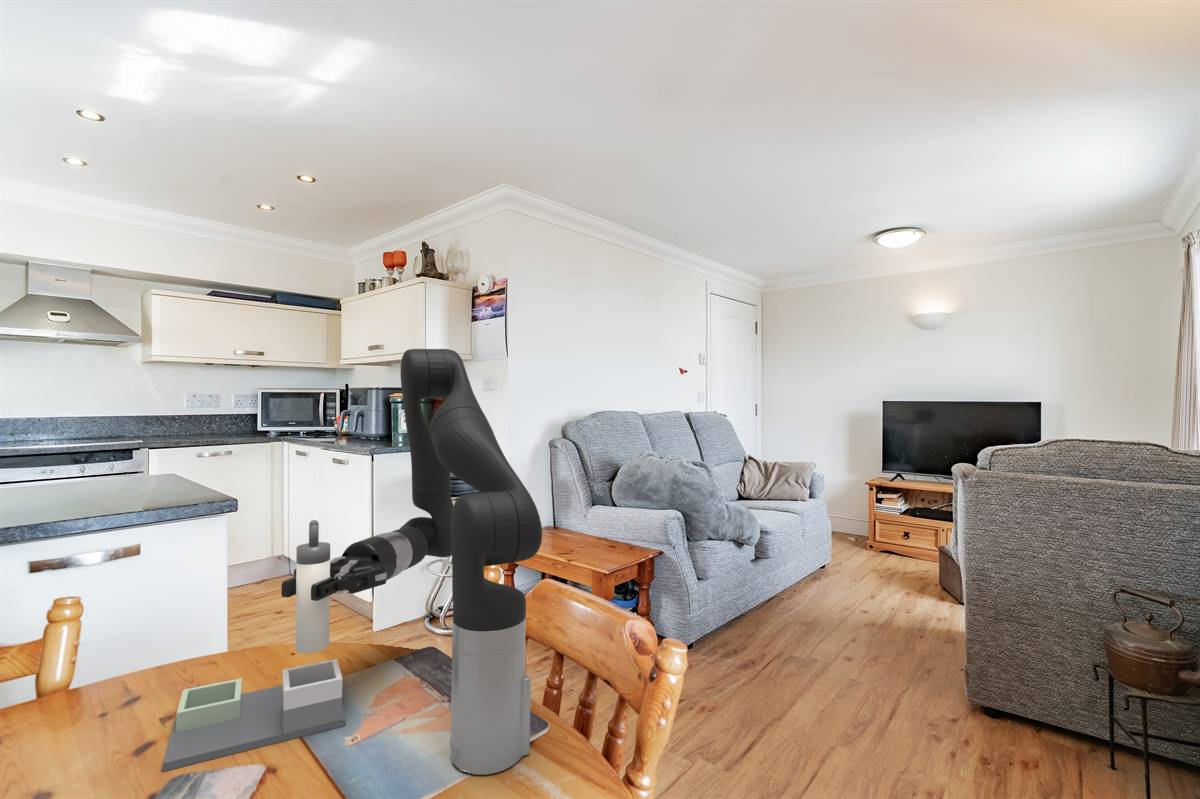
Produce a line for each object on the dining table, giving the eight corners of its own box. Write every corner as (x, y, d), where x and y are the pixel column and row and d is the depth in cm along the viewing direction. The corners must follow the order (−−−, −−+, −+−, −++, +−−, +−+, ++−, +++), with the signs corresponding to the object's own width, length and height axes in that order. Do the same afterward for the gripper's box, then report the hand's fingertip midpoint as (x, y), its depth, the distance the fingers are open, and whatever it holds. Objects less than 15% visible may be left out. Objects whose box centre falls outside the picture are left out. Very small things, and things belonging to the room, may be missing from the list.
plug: (327, 637, 81) (329, 516, 81) (330, 649, 78) (332, 521, 78) (294, 644, 79) (296, 518, 79) (296, 655, 76) (297, 524, 76)
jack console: (334, 680, 90) (335, 639, 90) (345, 725, 77) (346, 678, 78) (178, 713, 80) (179, 667, 80) (162, 771, 67) (164, 717, 67)
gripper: (341, 533, 94) (255, 559, 78) (417, 539, 91) (344, 568, 74) (340, 578, 94) (254, 614, 78) (416, 585, 91) (343, 625, 74)
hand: (298, 591), depth 76 cm, fingers closed on plug, 4 cm apart
